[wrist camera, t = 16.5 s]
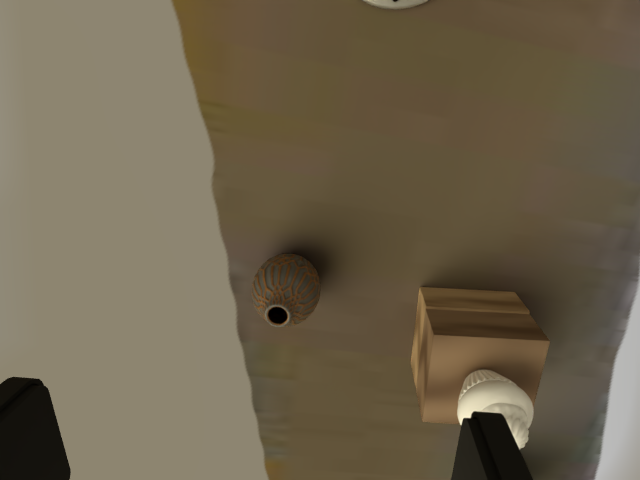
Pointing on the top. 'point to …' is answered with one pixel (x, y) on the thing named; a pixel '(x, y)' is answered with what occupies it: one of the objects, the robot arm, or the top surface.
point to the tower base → (460, 309)
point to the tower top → (475, 356)
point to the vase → (286, 290)
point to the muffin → (497, 401)
